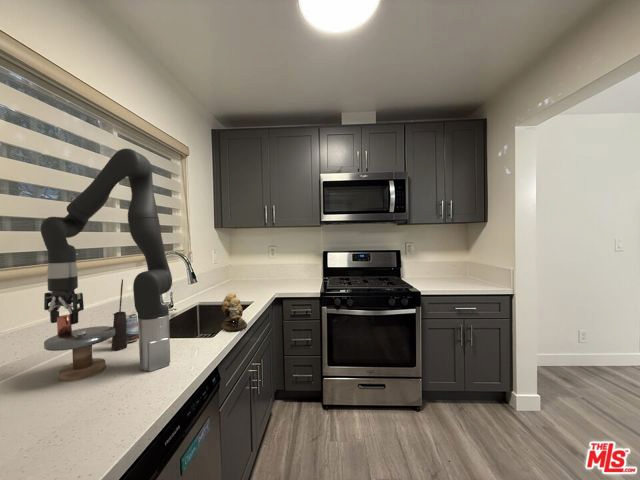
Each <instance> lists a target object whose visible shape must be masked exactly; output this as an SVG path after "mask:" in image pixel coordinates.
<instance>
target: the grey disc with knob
mask: <svg viewBox="0 0 640 480" xmlns="http://www.w3.org/2000/svg"><path fill="white" fill-rule="evenodd" d="M56 326H57V327H56V328H57V329H56V330H57V334H55V335H53V336H50V337H49V338H47V339H46V340H44V342H43V347H44V348H43V349H44V350H46V351H50V352H51V351H53V352H59V351H60V352H61V351H70V350H72V349H77V348H82V347H86V346H90V345H92V346H94V345H97V344H99V343H102V342H105V341H108V340H109V339H112V337H113V336H114V335H115V328H114V327H113V326H108V325H103V326H102V325H100V326H89V327H83V328H78V329H74V330H73V326H72V325H71V324H70V322H69V314H63V315H59V317H57V322H56Z"/></svg>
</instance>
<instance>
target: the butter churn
mask: <svg viewBox="0 0 640 480" xmlns="http://www.w3.org/2000/svg"><path fill="white" fill-rule="evenodd" d="M123 287H124V279H121V283H120V298H119V310H118V311H117V312H115V313H112V315H113V325H112V327H114V328H115V335H114V336H113V337H112V338H111V345H110V347H111V348H110V350H111V351H115V352H116V351H121V350H125V349H126V348H128V342H127V333H126V332H127V329H126V327H127V324H126V314H127V313H126V311H122V301H123V300H122V298H123Z"/></svg>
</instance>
